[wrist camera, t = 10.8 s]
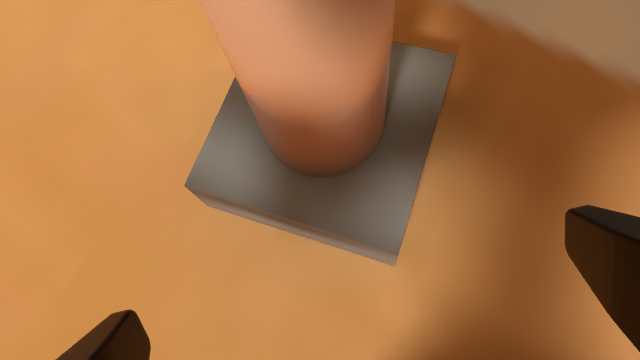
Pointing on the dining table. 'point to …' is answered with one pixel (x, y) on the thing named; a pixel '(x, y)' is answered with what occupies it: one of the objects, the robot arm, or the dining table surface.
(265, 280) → the dining table surface
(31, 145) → the dining table surface
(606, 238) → the robot arm
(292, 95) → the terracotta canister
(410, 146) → the riser block
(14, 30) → the dining table surface
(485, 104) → the dining table surface
